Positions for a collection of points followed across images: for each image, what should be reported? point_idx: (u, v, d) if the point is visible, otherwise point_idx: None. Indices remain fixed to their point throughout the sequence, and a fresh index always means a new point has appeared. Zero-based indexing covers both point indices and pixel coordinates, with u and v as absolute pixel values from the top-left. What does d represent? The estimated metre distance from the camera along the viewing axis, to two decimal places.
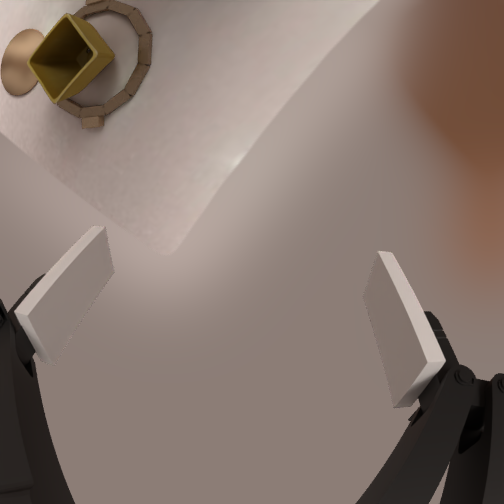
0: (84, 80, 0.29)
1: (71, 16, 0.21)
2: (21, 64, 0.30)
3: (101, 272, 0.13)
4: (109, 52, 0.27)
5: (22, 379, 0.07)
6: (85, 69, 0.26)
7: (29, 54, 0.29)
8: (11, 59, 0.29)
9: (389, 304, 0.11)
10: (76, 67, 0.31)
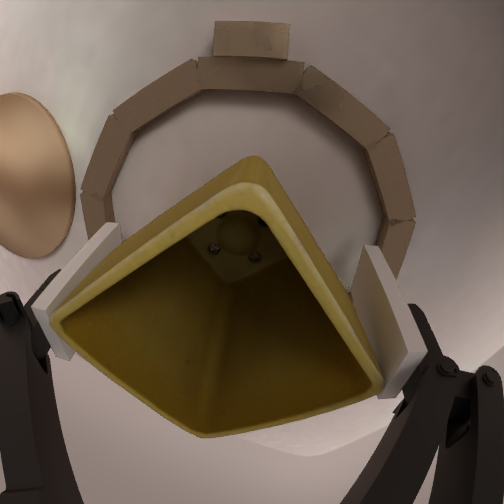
0: None
1: (282, 210, 0.06)
2: (9, 189, 0.15)
3: None
4: (353, 306, 0.12)
5: (36, 376, 0.07)
6: None
7: (25, 169, 0.14)
8: None
9: (374, 296, 0.12)
10: (188, 255, 0.16)
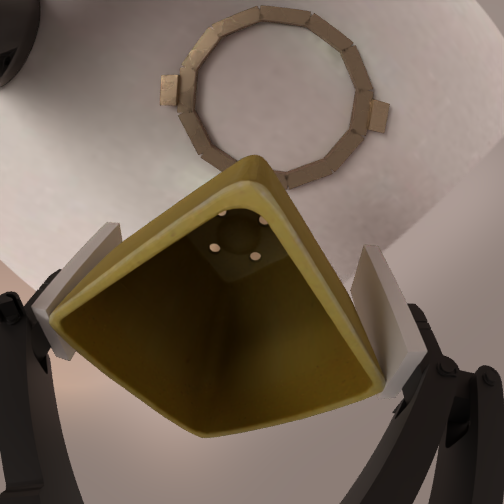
0: None
1: (282, 208, 0.06)
2: None
3: None
4: None
5: (36, 376, 0.07)
6: None
7: None
8: None
9: (373, 296, 0.12)
10: (188, 254, 0.16)
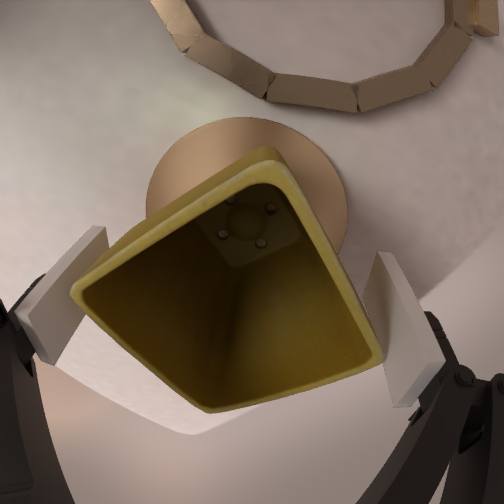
0: None
1: (299, 185, 0.07)
2: None
3: None
4: None
5: (22, 379, 0.07)
6: None
7: None
8: None
9: (389, 304, 0.11)
10: (198, 239, 0.17)
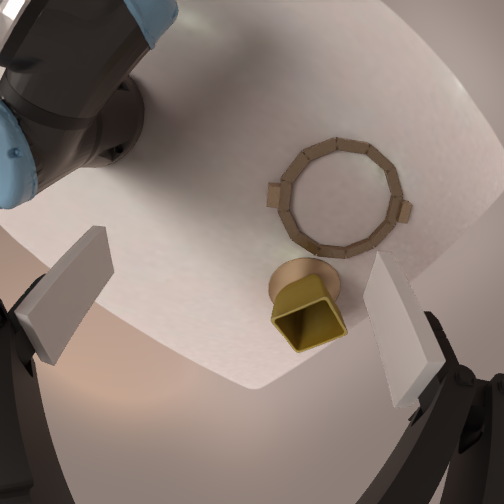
0: None
1: (329, 299, 0.39)
2: None
3: (101, 272, 0.13)
4: (340, 313, 0.46)
5: (22, 379, 0.07)
6: None
7: None
8: None
9: (389, 304, 0.11)
10: None
